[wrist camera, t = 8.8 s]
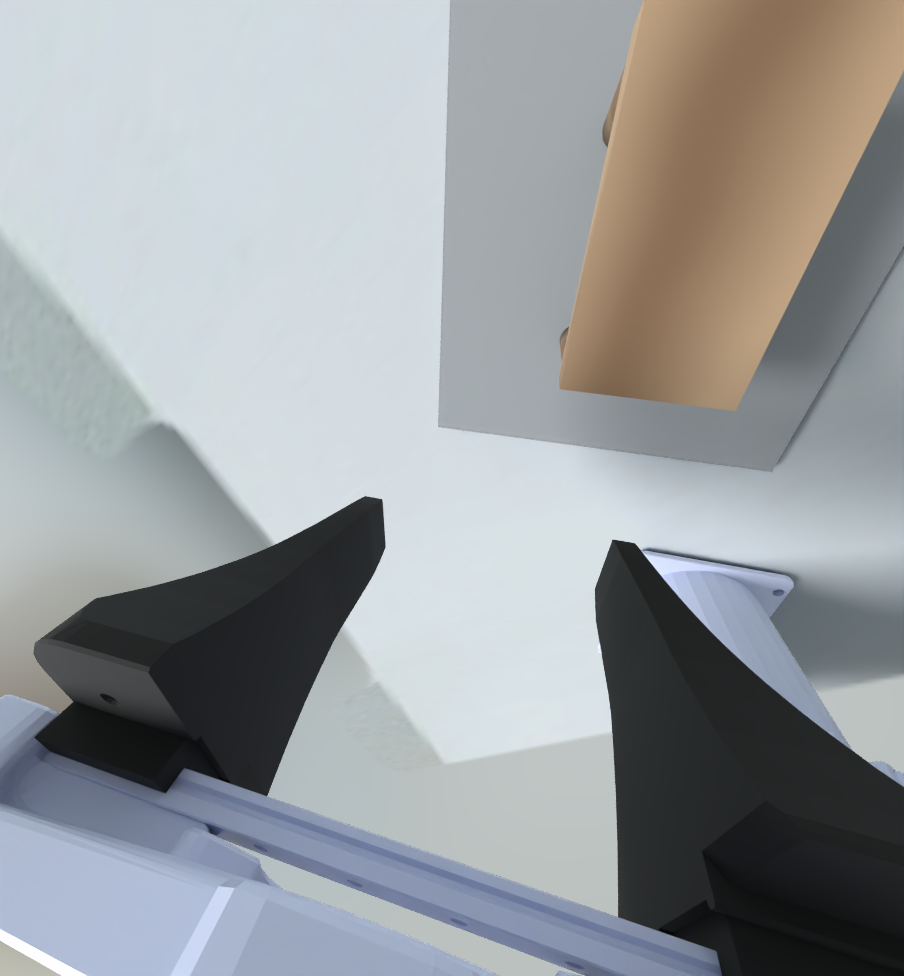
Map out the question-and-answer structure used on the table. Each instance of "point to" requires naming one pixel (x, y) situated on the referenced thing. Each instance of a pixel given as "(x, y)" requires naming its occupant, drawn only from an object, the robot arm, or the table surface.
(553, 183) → the mat
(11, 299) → the table surface
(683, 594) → the robot arm
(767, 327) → the stool
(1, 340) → the table surface
